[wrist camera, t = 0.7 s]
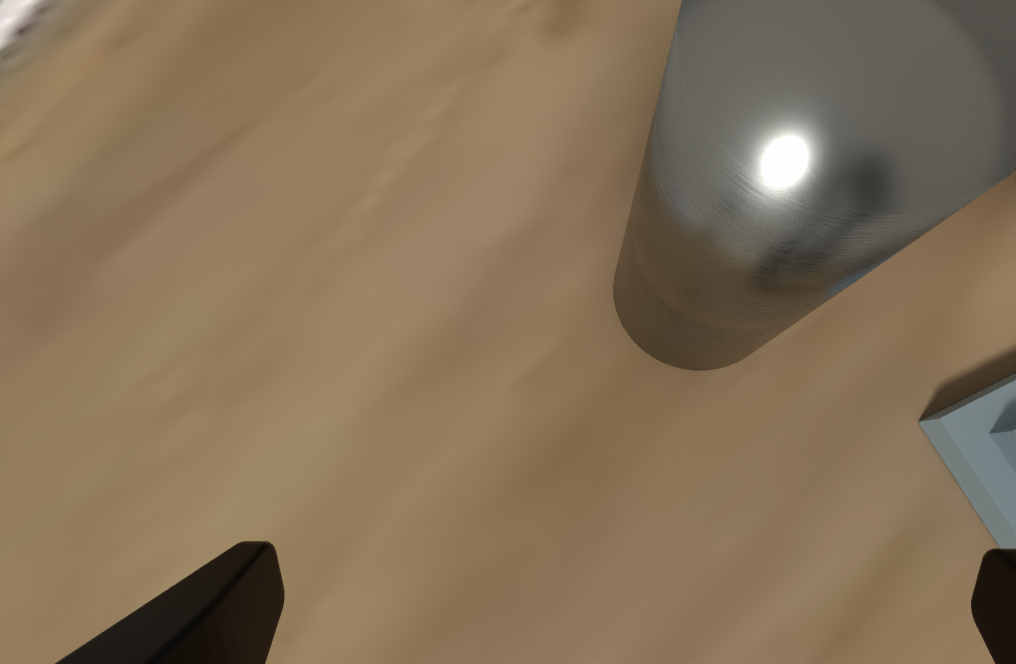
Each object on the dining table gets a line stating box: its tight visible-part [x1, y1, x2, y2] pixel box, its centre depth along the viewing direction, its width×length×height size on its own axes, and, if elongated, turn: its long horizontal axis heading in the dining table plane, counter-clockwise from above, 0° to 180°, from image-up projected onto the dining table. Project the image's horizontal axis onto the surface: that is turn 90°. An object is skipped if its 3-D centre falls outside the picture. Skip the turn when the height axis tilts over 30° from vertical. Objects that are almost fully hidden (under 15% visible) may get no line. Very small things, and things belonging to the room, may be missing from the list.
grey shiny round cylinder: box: [613, 0, 1016, 370], centre depth 16 cm, size 6×6×13 cm
